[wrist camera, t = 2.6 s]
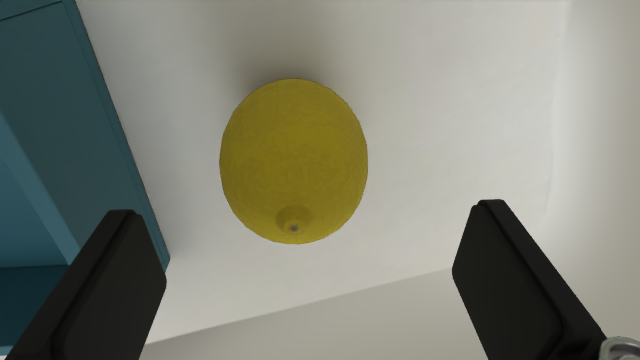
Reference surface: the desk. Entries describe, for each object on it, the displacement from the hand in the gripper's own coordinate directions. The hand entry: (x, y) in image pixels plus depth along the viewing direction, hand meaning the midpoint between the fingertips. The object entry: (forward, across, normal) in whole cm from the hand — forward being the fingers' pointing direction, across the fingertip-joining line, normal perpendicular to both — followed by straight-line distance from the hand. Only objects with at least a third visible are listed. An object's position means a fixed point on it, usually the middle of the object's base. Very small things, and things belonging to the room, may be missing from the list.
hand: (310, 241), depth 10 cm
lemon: (+8, +1, 0) cm, 8 cm away
